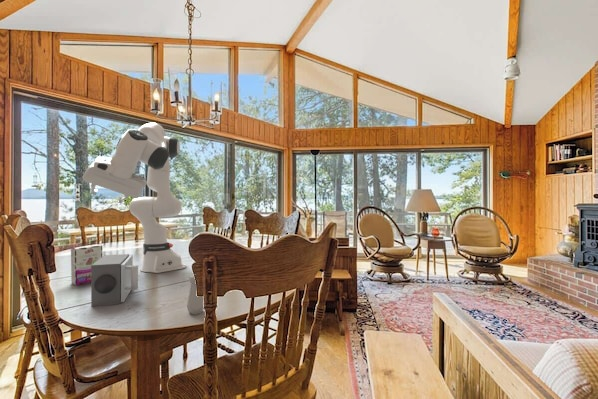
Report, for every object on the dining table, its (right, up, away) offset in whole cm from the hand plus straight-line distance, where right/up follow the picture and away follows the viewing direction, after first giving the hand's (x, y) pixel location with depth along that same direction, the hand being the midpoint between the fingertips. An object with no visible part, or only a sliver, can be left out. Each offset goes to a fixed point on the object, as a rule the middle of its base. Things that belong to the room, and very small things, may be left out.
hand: (106, 198), depth 118 cm
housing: (+2, -39, -1) cm, 39 cm away
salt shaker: (+40, -40, -14) cm, 59 cm away
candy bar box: (-21, -39, +18) cm, 48 cm away
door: (+9, -39, +2) cm, 40 cm away
